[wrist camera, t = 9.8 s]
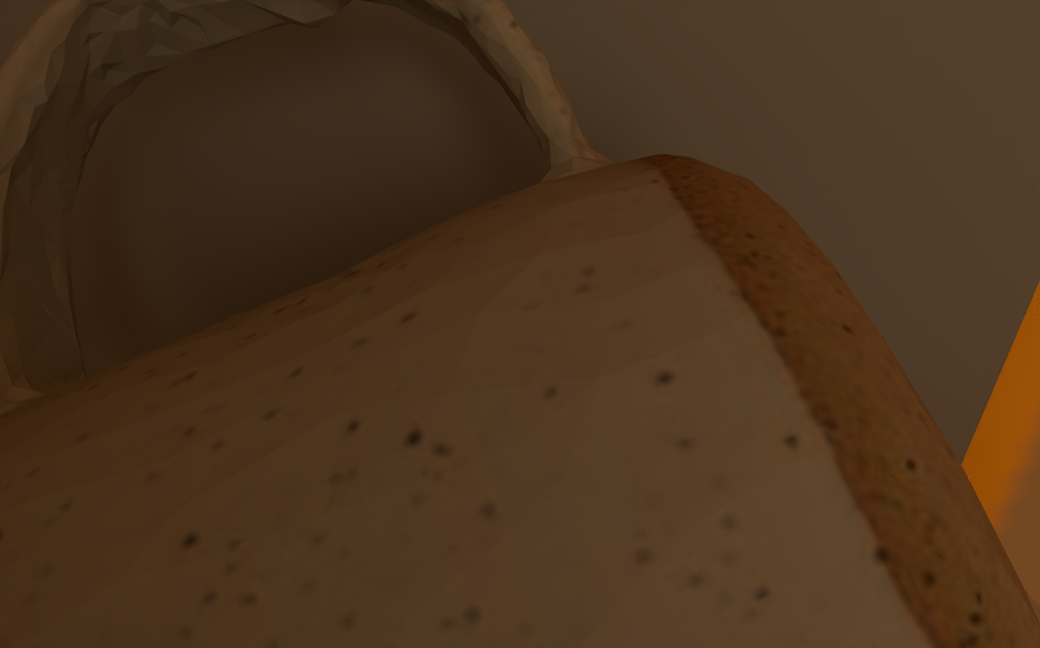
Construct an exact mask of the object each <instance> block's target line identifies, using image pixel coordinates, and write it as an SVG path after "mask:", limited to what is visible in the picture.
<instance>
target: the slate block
mask: <svg viewBox="0 0 1040 648" xmlns="http://www.w3.org/2000/svg"><path fill="white" fill-rule="evenodd" d="M51 1H52V0H0V68H1V67H2V65H3V63H4V62H5V60H6V58H7V57H8V55H9V53H10V52H11V50H12V48H13V47H14V45H15V43H16V42H17V40H18V38H19V37H20V36H21V35H22V33H23V32H24V31H25V30H26V28H27V27H28V26H29V25H30V24H31V22H32V21H33V20H34V19H35V17H36V16H37V15H38V14H39V13H40V12H41V11H42V10H43V9H44V8H45V7H46V6H47V5H48V4H49V3H50V2H51ZM501 1H502V2H504V3H505V4H506V6H507V7H508V9H509V10H510V12H511V13H512V14H513V16H514V17H515V19H516V20H517V22H518V23H519V24H520V26H521V27H522V29H523V30H524V31H525V33H526V34H527V35H528V36H529V38H530V39H531V40H532V41H533V42H534V44H535V45H536V46H537V47H538V49H539V50H540V51H541V52H542V53H543V55H544V56H545V57H546V58H547V60H548V62H549V64H550V66H551V68H552V70H553V72H554V75H555V77H556V79H557V81H558V83H559V84H560V86H561V88H562V90H563V91H564V93H565V95H566V96H567V98H568V100H569V103H570V105H571V108H572V110H573V113H574V115H575V118H576V120H577V123H578V125H579V127H580V129H581V131H582V133H583V135H584V137H585V139H586V141H587V142H588V144H589V146H590V148H591V149H593V150H594V151H596V152H598V153H599V154H601V155H603V156H605V157H606V158H608V159H610V160H612V161H613V162H615V163H621V162H625V161H630V160H634V159H639V158H643V157H648V156H652V155H657V154H669V155H678V156H687V157H692V158H695V159H697V160H700V161H702V162H705V163H707V164H710V165H712V166H714V167H717V168H719V169H722V170H724V171H727V172H730V173H733V174H736V175H739V176H741V177H744V178H747V179H749V180H751V181H752V182H753V183H754V184H755V185H756V186H758V187H759V188H760V189H761V190H762V191H764V192H765V193H766V194H767V195H768V196H769V197H771V198H772V199H773V200H774V201H775V202H777V203H778V204H779V205H780V206H781V207H782V208H784V209H785V210H786V211H787V212H788V213H789V214H790V215H791V216H792V217H793V218H794V219H795V221H796V222H797V223H798V224H799V225H800V226H801V228H802V229H803V230H804V231H805V232H806V234H807V235H808V236H809V237H810V238H811V239H812V241H813V242H814V243H815V244H816V245H817V246H818V248H819V249H820V250H821V251H822V252H823V253H824V255H825V256H826V257H827V258H828V259H829V260H830V262H831V263H832V264H833V265H834V267H835V268H836V270H837V271H838V273H839V274H840V276H841V277H842V279H843V280H844V281H845V283H846V284H847V286H848V287H849V289H850V290H851V292H852V293H853V295H854V296H855V298H856V299H857V300H858V302H859V303H860V305H861V306H862V308H863V309H864V311H865V312H866V314H867V315H868V317H869V318H870V319H871V321H872V322H873V324H874V325H875V327H876V328H877V330H878V331H879V333H880V334H881V336H882V337H883V339H884V340H885V342H886V343H887V345H888V347H889V348H890V350H891V352H892V353H893V355H894V356H895V358H896V360H897V361H898V363H899V364H900V366H901V368H902V369H903V371H904V373H905V374H906V376H907V377H908V379H909V381H910V382H911V384H912V386H913V387H914V389H915V390H916V392H917V394H918V395H919V397H920V398H921V400H922V402H923V403H924V405H925V407H926V408H927V410H928V411H929V413H930V415H931V416H932V418H933V419H934V421H935V423H936V424H937V426H938V428H939V429H940V431H941V432H942V434H943V436H944V437H945V439H946V441H947V442H948V444H949V445H950V447H951V449H952V450H953V452H954V453H955V455H956V457H957V458H958V460H959V462H960V464H961V463H962V461H963V458H964V456H965V454H966V451H967V449H968V447H969V444H970V442H971V440H972V437H973V435H974V433H975V430H976V428H977V426H978V423H979V421H980V419H981V416H982V414H983V412H984V409H985V407H986V405H987V402H988V400H989V398H990V395H991V393H992V391H993V388H994V386H995V384H996V381H997V379H998V377H999V374H1000V372H1001V370H1002V367H1003V365H1004V363H1005V360H1006V358H1007V356H1008V353H1009V351H1010V348H1011V346H1012V344H1013V341H1014V339H1015V337H1016V334H1017V332H1018V330H1019V327H1020V325H1021V323H1022V320H1023V318H1024V316H1025V313H1026V311H1027V309H1028V306H1029V304H1030V302H1031V299H1032V297H1033V295H1034V292H1035V290H1036V288H1037V285H1038V283H1039V281H1040V0H501ZM543 173H544V168H543V158H542V152H541V149H540V147H539V144H538V141H537V139H536V136H535V134H534V132H533V131H532V130H531V128H530V127H529V125H528V124H527V123H526V121H525V120H524V119H523V117H522V116H521V114H520V113H519V111H518V110H517V108H516V107H515V106H514V104H513V103H512V101H511V100H510V98H509V97H508V95H507V94H506V92H505V91H504V89H503V88H502V86H501V85H500V83H499V82H498V81H496V80H495V79H494V78H493V77H491V76H490V75H489V74H488V73H486V72H485V71H484V70H483V69H482V67H481V66H480V64H479V63H478V61H477V60H476V59H475V57H474V56H473V55H472V54H471V53H470V52H469V51H468V50H467V49H466V48H465V47H464V46H463V45H462V43H461V42H460V41H459V40H458V39H457V38H456V37H454V36H451V35H449V34H447V33H445V32H443V31H441V30H438V29H436V28H434V27H432V26H430V25H428V24H426V23H424V22H422V21H421V20H419V19H417V18H415V17H413V16H412V15H410V14H408V13H406V12H405V11H403V10H401V9H399V8H397V7H396V6H390V5H384V4H378V3H372V2H367V1H361V0H352V1H351V2H350V3H348V4H347V5H346V6H344V7H343V8H342V9H341V10H339V11H338V13H337V14H336V15H334V16H333V17H332V18H330V19H329V20H328V21H326V22H325V23H324V24H322V25H321V26H320V27H318V28H313V27H307V26H301V25H295V24H287V25H283V26H279V27H275V28H272V29H268V30H264V31H260V32H256V33H252V34H249V35H246V36H244V37H242V38H239V39H237V40H235V41H232V42H230V43H227V44H225V45H223V46H220V47H218V48H216V49H213V50H210V51H208V52H205V53H203V54H200V55H198V56H195V57H192V58H190V59H187V60H185V61H182V62H179V63H177V64H174V65H172V66H169V67H166V68H164V69H162V70H161V71H159V72H157V73H155V74H152V75H150V76H148V77H146V78H144V79H143V80H142V81H141V83H140V84H139V85H138V87H137V88H136V89H135V91H134V92H133V93H132V95H131V96H130V97H128V98H126V99H124V100H122V101H120V102H118V103H117V104H116V106H115V107H114V108H113V110H112V111H111V112H110V114H109V115H108V117H107V118H106V119H105V121H104V122H103V123H102V125H101V126H100V129H99V132H98V134H97V137H96V140H95V142H94V144H93V146H92V148H91V150H90V152H89V153H88V155H87V157H86V161H85V166H84V169H83V173H82V176H81V180H80V183H79V187H78V190H77V193H76V195H75V199H74V202H73V205H72V226H71V278H72V287H73V303H74V310H75V317H76V324H77V334H78V338H79V342H80V347H81V353H82V358H83V364H84V370H85V375H86V377H88V376H90V375H92V374H94V373H97V372H100V371H103V370H106V369H109V368H112V367H114V366H117V365H120V364H122V363H124V362H126V361H128V360H130V359H132V358H135V357H137V356H139V355H141V354H143V353H145V352H147V351H150V350H153V349H157V348H160V347H163V346H166V345H168V344H170V343H173V342H175V341H178V340H180V339H182V338H185V337H187V336H189V335H192V334H194V333H197V332H199V331H201V330H204V329H206V328H208V327H210V326H212V325H214V324H216V323H218V322H220V321H222V320H224V319H226V318H229V317H231V316H234V315H237V314H240V313H243V312H246V311H249V310H251V309H254V308H256V307H258V306H261V305H263V304H265V303H268V302H270V301H273V300H275V299H277V298H280V297H282V296H285V295H287V294H290V293H292V292H295V291H297V290H300V289H302V288H305V287H307V286H310V285H312V284H315V283H317V282H320V281H322V280H325V279H327V278H330V277H332V276H334V275H337V274H339V273H341V272H343V271H345V270H347V269H349V268H351V267H353V266H355V265H357V264H359V263H360V262H362V261H364V260H366V259H368V258H370V257H372V256H374V255H376V254H377V253H379V252H381V251H383V250H385V249H387V248H389V247H391V246H393V245H395V244H397V243H399V242H401V241H403V240H405V239H407V238H409V237H411V236H413V235H415V234H417V233H419V232H421V231H423V230H426V229H428V228H430V227H432V226H434V225H436V224H438V223H441V222H443V221H445V220H447V219H449V218H451V217H454V216H456V215H458V214H461V213H463V212H465V211H468V210H470V209H472V208H475V207H477V206H479V205H482V204H484V203H486V202H489V201H491V200H493V199H496V198H498V197H501V196H504V195H507V194H509V193H512V192H515V191H518V190H521V189H524V188H527V187H530V186H533V185H536V184H537V183H538V181H539V180H540V178H541V176H542V175H543Z"/></svg>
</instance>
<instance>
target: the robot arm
mask: <svg viewBox="0 0 1040 648" xmlns="http://www.w3.org/2000/svg"><path fill="white" fill-rule="evenodd" d="M1024 590H1025V589H1024ZM1025 592H1026V594H1027V596H1028V599H1029V601H1030V603H1031V605H1032V607H1033V610H1034V612H1035V614H1036V616H1037V618H1038V621H1039V623H1040V606H1039V605H1038V604H1037V603H1036V601H1035V600H1034V599H1033V598H1032V597H1031V596H1030V595H1029V594H1028V593H1027V591H1026V590H1025Z"/></svg>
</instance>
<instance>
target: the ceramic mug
mask: <svg viewBox="0 0 1040 648" xmlns="http://www.w3.org/2000/svg"><path fill="white" fill-rule="evenodd" d="M351 1H352V0H52V1H51V2H50V3H49V4H48V5H47V6H46V7H45V8H44V9H43V10H42V11H41V12H40V13H39V14H38V15H37V16H36V17H35V19H34V20H33V21H32V22H31V24H30V25H29V26H28V27H27V28H26V30H25V31H24V32H23V33H22V35H21V36H20V37H19V38H18V40H17V42H16V43H15V45H14V47H13V48H12V50H11V52H10V53H9V55H8V57H7V58H6V60H5V62H4V63H3V65H2V67H1V68H0V648H1040V623H1039V621H1038V618H1037V616H1036V614H1035V612H1034V610H1033V607H1032V605H1031V603H1030V601H1029V599H1028V596H1027V594H1026V592H1025V590H1024V588H1023V585H1022V583H1021V581H1020V579H1019V577H1018V576H1017V574H1016V571H1015V570H1014V568H1013V566H1012V564H1011V562H1010V560H1009V558H1008V556H1007V554H1006V552H1005V550H1004V548H1003V546H1002V544H1001V542H1000V540H999V538H998V536H997V534H996V532H995V530H994V528H993V526H992V524H991V522H990V521H989V519H988V517H987V515H986V513H985V511H984V509H983V507H982V505H981V503H980V501H979V499H978V497H977V495H976V493H975V491H974V489H973V487H972V485H971V483H970V481H969V479H968V477H967V475H966V474H965V472H964V470H963V468H962V466H961V464H960V462H959V460H958V458H957V457H956V455H955V453H954V452H953V450H952V449H951V447H950V445H949V444H948V442H947V441H946V439H945V437H944V436H943V434H942V432H941V431H940V429H939V428H938V426H937V424H936V423H935V421H934V419H933V418H932V416H931V415H930V413H929V411H928V410H927V408H926V407H925V405H924V403H923V402H922V400H921V398H920V397H919V395H918V394H917V392H916V390H915V389H914V387H913V386H912V384H911V382H910V381H909V379H908V377H907V376H906V374H905V373H904V371H903V369H902V368H901V366H900V364H899V363H898V361H897V360H896V358H895V356H894V355H893V353H892V352H891V350H890V348H889V347H888V345H887V343H886V342H885V340H884V339H883V337H882V336H881V334H880V333H879V331H878V330H877V328H876V327H875V325H874V324H873V322H872V321H871V319H870V318H869V317H868V315H867V314H866V312H865V311H864V309H863V308H862V306H861V305H860V303H859V302H858V300H857V299H856V298H855V296H854V295H853V293H852V292H851V290H850V289H849V287H848V286H847V284H846V283H845V281H844V280H843V279H842V277H841V276H840V274H839V273H838V271H837V270H836V268H835V267H834V265H833V264H832V263H831V262H830V260H829V259H828V258H827V257H826V256H825V255H824V253H823V252H822V251H821V250H820V249H819V248H818V246H817V245H816V244H815V243H814V242H813V241H812V239H811V238H810V237H809V236H808V235H807V234H806V232H805V231H804V230H803V229H802V228H801V226H800V225H799V224H798V223H797V222H796V221H795V219H794V218H793V217H792V216H791V215H790V214H789V213H788V212H787V211H786V210H785V209H784V208H782V207H781V206H780V205H779V204H778V203H777V202H775V201H774V200H773V199H772V198H771V197H769V196H768V195H767V194H766V193H765V192H764V191H762V190H761V189H760V188H759V187H758V186H756V185H755V184H754V183H753V182H752V181H751V180H749V179H747V178H744V177H741V176H739V175H736V174H733V173H730V172H727V171H724V170H722V169H719V168H717V167H714V166H712V165H710V164H707V163H705V162H702V161H700V160H697V159H695V158H692V157H687V156H678V155H669V154H657V155H652V156H648V157H643V158H639V159H634V160H630V161H625V162H621V163H615V162H613V161H612V160H610V159H608V158H606V157H605V156H603V155H601V154H599V153H598V152H596V151H594V150H593V149H591V148H590V146H589V144H588V142H587V141H586V139H585V137H584V135H583V133H582V131H581V129H580V127H579V125H578V123H577V120H576V118H575V115H574V113H573V110H572V108H571V105H570V103H569V100H568V98H567V96H566V95H565V93H564V91H563V90H562V88H561V86H560V84H559V83H558V81H557V79H556V77H555V75H554V72H553V70H552V68H551V66H550V64H549V62H548V60H547V58H546V57H545V56H544V55H543V53H542V52H541V51H540V50H539V49H538V47H537V46H536V45H535V44H534V42H533V41H532V40H531V39H530V38H529V36H528V35H527V34H526V33H525V31H524V30H523V29H522V27H521V26H520V24H519V23H518V22H517V20H516V19H515V17H514V16H513V14H512V13H511V12H510V10H509V9H508V7H507V6H506V4H505V3H504V2H502V1H501V0H361V1H367V2H372V3H378V4H384V5H390V6H396V7H397V8H399V9H401V10H403V11H405V12H406V13H408V14H410V15H412V16H413V17H415V18H417V19H419V20H421V21H422V22H424V23H426V24H428V25H430V26H432V27H434V28H436V29H438V30H441V31H443V32H445V33H447V34H449V35H451V36H454V37H456V38H457V39H458V40H459V41H460V42H461V43H462V45H463V46H464V47H465V48H466V49H467V50H468V51H469V52H470V53H471V54H472V55H473V56H474V57H475V59H476V60H477V61H478V63H479V64H480V66H481V67H482V69H483V70H484V71H485V72H486V73H488V74H489V75H490V76H491V77H493V78H494V79H495V80H496V81H498V82H499V83H500V85H501V86H502V88H503V89H504V91H505V92H506V94H507V95H508V97H509V98H510V100H511V101H512V103H513V104H514V106H515V107H516V108H517V110H518V111H519V113H520V114H521V116H522V117H523V119H524V120H525V121H526V123H527V124H528V125H529V127H530V128H531V130H532V131H533V132H534V134H535V136H536V139H537V141H538V144H539V147H540V149H541V152H542V158H543V168H544V173H543V175H542V176H541V178H540V180H539V181H538V183H537V184H536V185H533V186H530V187H527V188H524V189H521V190H518V191H515V192H512V193H509V194H507V195H504V196H501V197H498V198H496V199H493V200H491V201H489V202H486V203H484V204H482V205H479V206H477V207H475V208H472V209H470V210H468V211H465V212H463V213H461V214H458V215H456V216H454V217H451V218H449V219H447V220H445V221H443V222H441V223H438V224H436V225H434V226H432V227H430V228H428V229H426V230H423V231H421V232H419V233H417V234H415V235H413V236H411V237H409V238H407V239H405V240H403V241H401V242H399V243H397V244H395V245H393V246H391V247H389V248H387V249H385V250H383V251H381V252H379V253H377V254H376V255H374V256H372V257H370V258H368V259H366V260H364V261H362V262H360V263H359V264H357V265H355V266H353V267H351V268H349V269H347V270H345V271H343V272H341V273H339V274H337V275H334V276H332V277H330V278H327V279H325V280H322V281H320V282H317V283H315V284H312V285H310V286H307V287H305V288H302V289H300V290H297V291H295V292H292V293H290V294H287V295H285V296H282V297H280V298H277V299H275V300H273V301H270V302H268V303H265V304H263V305H261V306H258V307H256V308H254V309H251V310H249V311H246V312H243V313H240V314H237V315H234V316H231V317H229V318H226V319H224V320H222V321H220V322H218V323H216V324H214V325H212V326H210V327H208V328H206V329H204V330H201V331H199V332H197V333H194V334H192V335H189V336H187V337H185V338H182V339H180V340H178V341H175V342H173V343H170V344H168V345H166V346H163V347H160V348H157V349H153V350H150V351H147V352H145V353H143V354H141V355H139V356H137V357H135V358H132V359H130V360H128V361H126V362H124V363H122V364H120V365H117V366H114V367H112V368H109V369H106V370H103V371H100V372H97V373H94V374H92V375H90V376H88V377H86V375H85V370H84V364H83V358H82V353H81V347H80V342H79V338H78V334H77V324H76V317H75V310H74V303H73V287H72V278H71V226H72V205H73V202H74V199H75V195H76V193H77V190H78V187H79V183H80V180H81V176H82V173H83V169H84V166H85V161H86V157H87V155H88V153H89V152H90V150H91V148H92V146H93V144H94V142H95V140H96V137H97V134H98V132H99V129H100V126H101V125H102V123H103V122H104V121H105V119H106V118H107V117H108V115H109V114H110V112H111V111H112V110H113V108H114V107H115V106H116V104H117V103H118V102H120V101H122V100H124V99H126V98H128V97H130V96H131V95H132V93H133V92H134V91H135V89H136V88H137V87H138V85H139V84H140V83H141V81H142V80H143V79H144V78H146V77H148V76H150V75H152V74H155V73H157V72H159V71H161V70H162V69H164V68H166V67H169V66H172V65H174V64H177V63H179V62H182V61H185V60H187V59H190V58H192V57H195V56H198V55H200V54H203V53H205V52H208V51H210V50H213V49H216V48H218V47H220V46H223V45H225V44H227V43H230V42H232V41H235V40H237V39H239V38H242V37H244V36H246V35H249V34H252V33H256V32H260V31H264V30H268V29H272V28H275V27H279V26H283V25H287V24H295V25H301V26H307V27H313V28H318V27H320V26H321V25H322V24H324V23H325V22H326V21H328V20H329V19H330V18H332V17H333V16H334V15H336V14H337V13H338V11H339V10H341V9H342V8H343V7H344V6H346V5H347V4H348V3H350V2H351Z"/></svg>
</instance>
